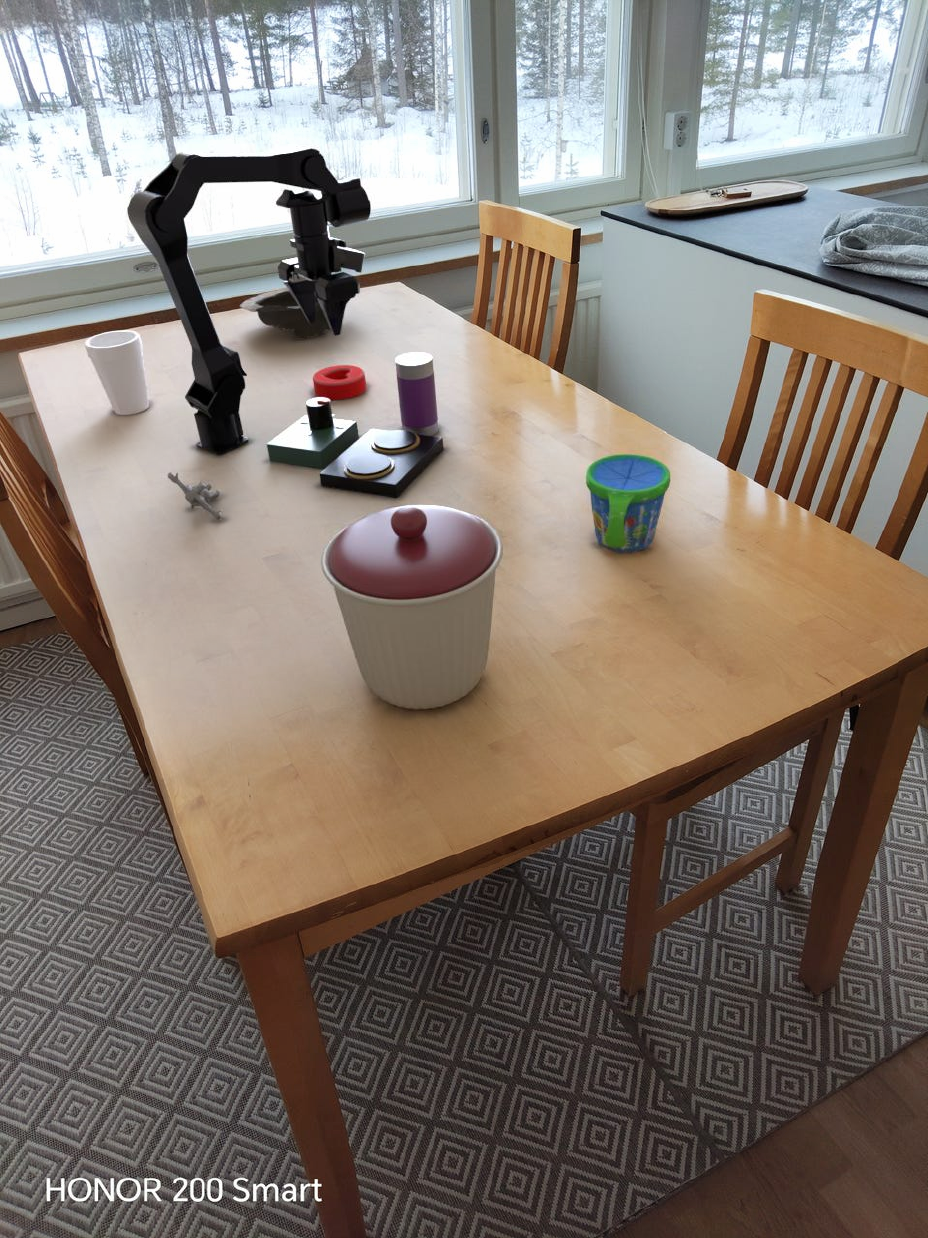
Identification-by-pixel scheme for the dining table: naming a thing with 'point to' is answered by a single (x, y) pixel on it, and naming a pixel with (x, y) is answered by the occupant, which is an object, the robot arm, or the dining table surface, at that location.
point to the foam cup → (120, 369)
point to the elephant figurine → (198, 494)
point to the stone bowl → (286, 313)
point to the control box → (312, 443)
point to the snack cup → (626, 500)
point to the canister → (416, 600)
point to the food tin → (417, 393)
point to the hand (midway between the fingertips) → (324, 328)
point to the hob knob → (319, 413)
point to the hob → (382, 462)
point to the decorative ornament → (339, 382)
